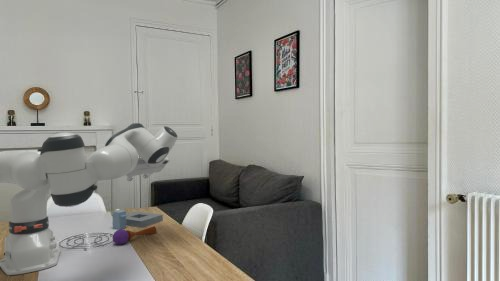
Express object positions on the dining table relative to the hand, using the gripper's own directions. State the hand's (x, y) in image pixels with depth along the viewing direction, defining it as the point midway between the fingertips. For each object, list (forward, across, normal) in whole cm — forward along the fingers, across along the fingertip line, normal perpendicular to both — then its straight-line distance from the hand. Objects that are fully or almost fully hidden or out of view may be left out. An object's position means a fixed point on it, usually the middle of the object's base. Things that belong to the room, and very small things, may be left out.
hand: (136, 178), depth 155 cm
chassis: (+26, +12, -8) cm, 29 cm away
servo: (+26, 0, -8) cm, 27 cm away
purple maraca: (+12, -8, -22) cm, 27 cm away
